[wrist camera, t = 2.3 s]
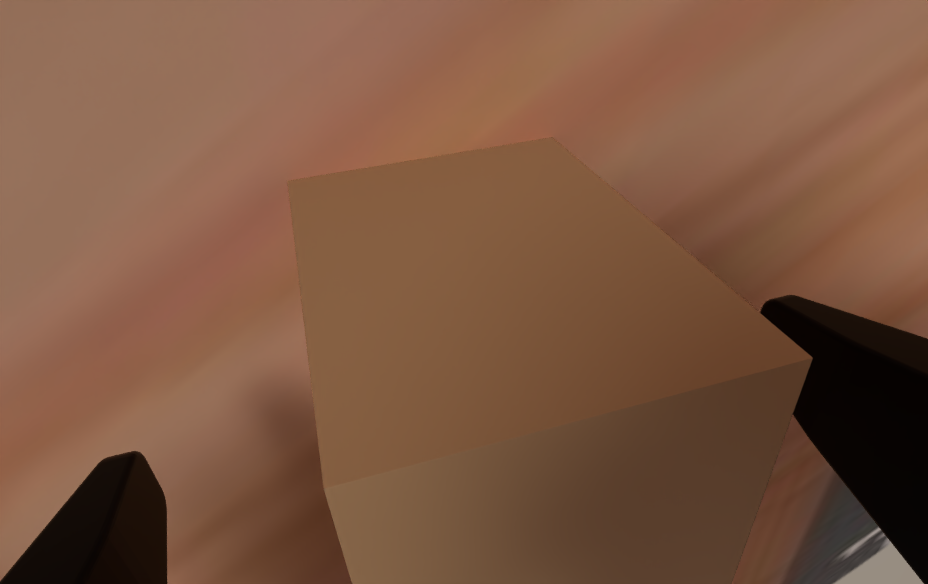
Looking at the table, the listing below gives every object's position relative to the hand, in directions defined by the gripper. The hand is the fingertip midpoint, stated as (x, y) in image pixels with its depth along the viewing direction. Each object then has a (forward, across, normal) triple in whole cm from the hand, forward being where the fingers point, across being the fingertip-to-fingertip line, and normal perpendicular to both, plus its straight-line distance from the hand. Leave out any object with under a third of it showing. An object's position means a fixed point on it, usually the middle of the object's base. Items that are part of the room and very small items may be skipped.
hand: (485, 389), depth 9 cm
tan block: (+3, 0, 0) cm, 3 cm away
